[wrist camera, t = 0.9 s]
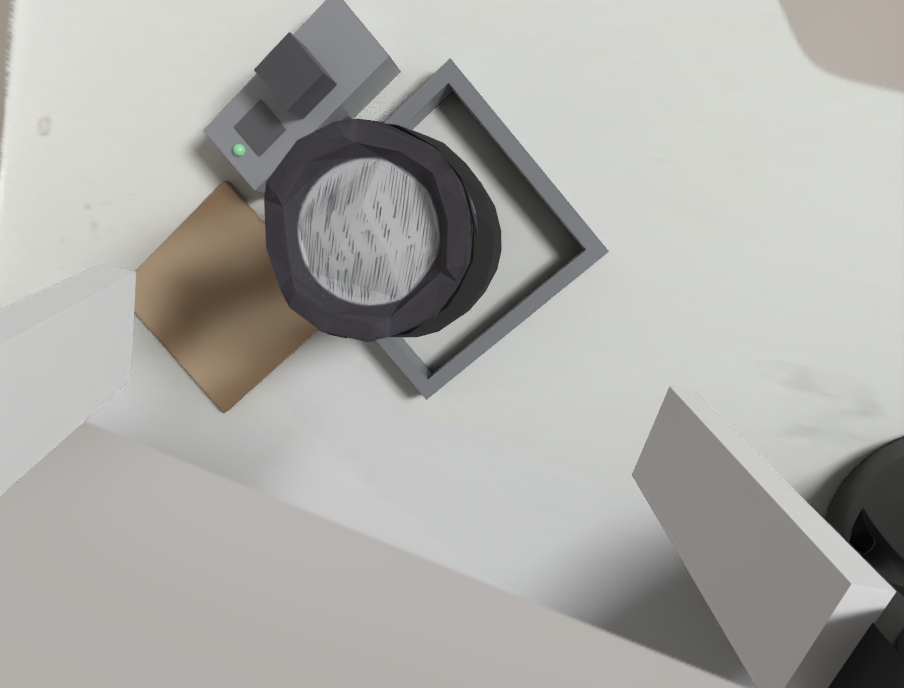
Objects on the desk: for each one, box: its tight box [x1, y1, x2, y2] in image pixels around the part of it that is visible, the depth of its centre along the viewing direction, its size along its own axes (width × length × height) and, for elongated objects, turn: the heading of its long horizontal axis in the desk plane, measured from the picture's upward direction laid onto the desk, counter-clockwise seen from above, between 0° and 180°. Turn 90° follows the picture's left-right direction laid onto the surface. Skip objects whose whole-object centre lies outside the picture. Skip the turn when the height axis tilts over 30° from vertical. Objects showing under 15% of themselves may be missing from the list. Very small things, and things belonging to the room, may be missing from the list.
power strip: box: [204, 0, 401, 193], centre depth 36 cm, size 5×12×6 cm, turn 131°
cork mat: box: [134, 181, 319, 413], centre depth 41 cm, size 12×12×1 cm
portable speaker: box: [264, 119, 501, 342], centre depth 29 cm, size 9×9×20 cm
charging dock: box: [343, 59, 609, 400], centre depth 38 cm, size 18×16×2 cm
